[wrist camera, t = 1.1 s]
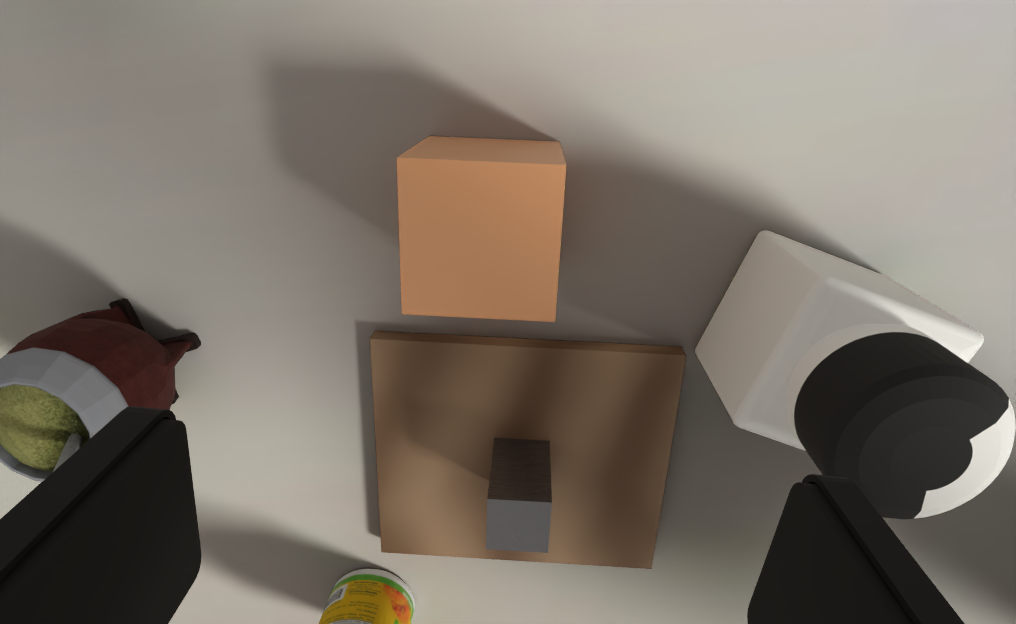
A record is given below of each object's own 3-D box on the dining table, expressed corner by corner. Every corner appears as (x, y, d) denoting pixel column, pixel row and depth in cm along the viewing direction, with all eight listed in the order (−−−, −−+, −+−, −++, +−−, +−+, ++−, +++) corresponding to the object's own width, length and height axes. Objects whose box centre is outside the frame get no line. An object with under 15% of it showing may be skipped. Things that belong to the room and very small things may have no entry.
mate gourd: (58, 307, 32) (-306, 491, 18) (191, 272, 31) (-88, 440, 17) (125, 424, 35) (-147, 663, 21) (250, 396, 34) (50, 629, 20)
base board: (681, 346, 31) (686, 355, 30) (648, 556, 37) (651, 568, 36) (374, 330, 32) (369, 338, 31) (385, 540, 37) (381, 552, 36)
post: (549, 440, 33) (552, 502, 28) (546, 486, 34) (548, 552, 29) (494, 437, 33) (487, 499, 28) (492, 483, 34) (485, 549, 29)
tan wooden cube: (559, 141, 28) (566, 164, 21) (551, 266, 30) (555, 322, 24) (429, 136, 28) (396, 157, 21) (430, 260, 30) (401, 314, 24)
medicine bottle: (690, 352, 32) (774, 508, 20) (759, 226, 29) (898, 326, 18) (813, 396, 32) (959, 571, 21) (890, 277, 30) (1104, 404, 18)
